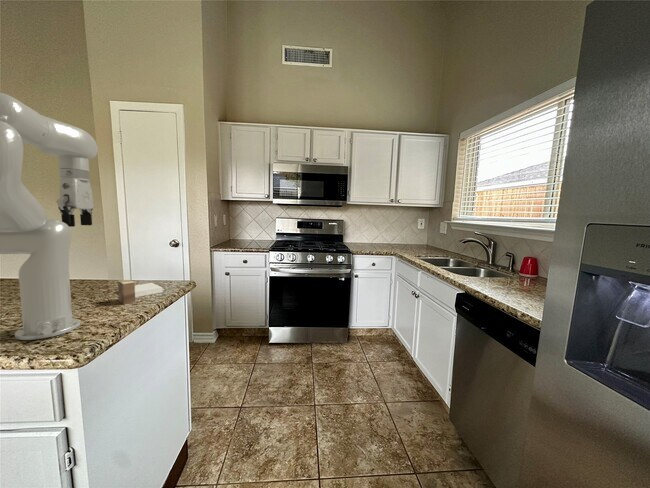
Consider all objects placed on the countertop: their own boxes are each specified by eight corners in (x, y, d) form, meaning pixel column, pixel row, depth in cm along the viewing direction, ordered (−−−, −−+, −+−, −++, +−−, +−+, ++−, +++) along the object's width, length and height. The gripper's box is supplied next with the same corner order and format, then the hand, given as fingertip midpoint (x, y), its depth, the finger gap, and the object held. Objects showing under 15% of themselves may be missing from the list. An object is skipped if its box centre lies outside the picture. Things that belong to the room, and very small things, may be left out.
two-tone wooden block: (135, 302, 98) (134, 281, 98) (124, 304, 96) (123, 283, 95) (129, 299, 102) (128, 279, 101) (118, 301, 99) (117, 280, 98)
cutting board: (162, 291, 112) (162, 287, 112) (129, 298, 103) (129, 293, 103) (151, 287, 119) (151, 282, 119) (119, 292, 110) (119, 287, 110)
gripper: (71, 172, 82) (75, 227, 83) (101, 179, 98) (104, 225, 100) (41, 171, 80) (46, 226, 81) (77, 178, 96) (80, 224, 98)
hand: (78, 225), depth 91 cm, fingers open, 9 cm apart
